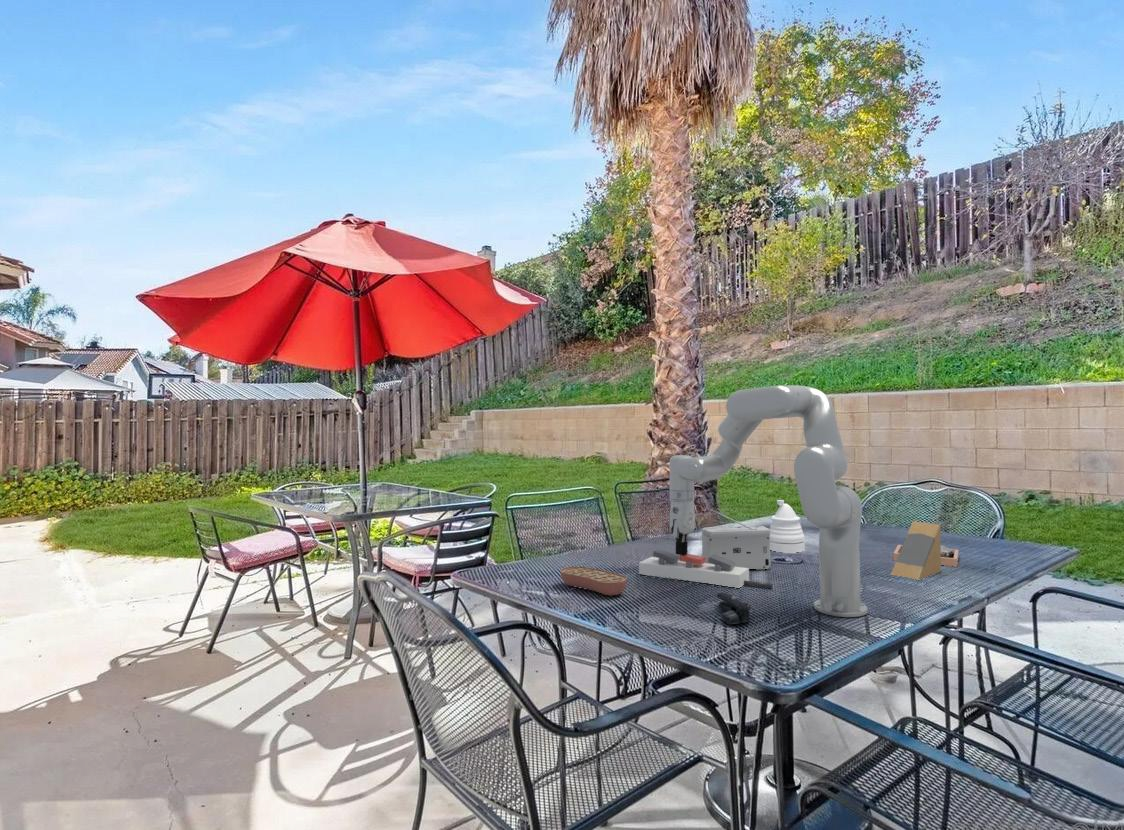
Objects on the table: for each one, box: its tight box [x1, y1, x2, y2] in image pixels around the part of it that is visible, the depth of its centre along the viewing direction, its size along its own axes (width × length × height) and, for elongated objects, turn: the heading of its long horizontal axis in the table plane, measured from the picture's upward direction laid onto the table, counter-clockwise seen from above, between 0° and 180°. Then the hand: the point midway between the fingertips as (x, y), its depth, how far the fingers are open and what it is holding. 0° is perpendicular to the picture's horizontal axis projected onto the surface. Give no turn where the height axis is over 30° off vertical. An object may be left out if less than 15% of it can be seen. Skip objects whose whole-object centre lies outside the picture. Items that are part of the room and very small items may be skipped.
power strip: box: [638, 556, 774, 589], centre depth 195 cm, size 9×40×6 cm, turn 57°
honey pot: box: [769, 499, 806, 554], centre depth 233 cm, size 13×13×18 cm
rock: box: [941, 544, 954, 558], centre depth 214 cm, size 13×10×5 cm
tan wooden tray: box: [892, 544, 959, 568], centre depth 214 cm, size 15×18×2 cm
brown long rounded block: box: [559, 566, 628, 596], centre depth 187 cm, size 23×10×5 cm, turn 45°
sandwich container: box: [890, 520, 942, 581], centre depth 196 cm, size 9×15×15 cm, turn 126°
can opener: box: [716, 592, 752, 625], centre depth 162 cm, size 18×7×6 cm, turn 2°
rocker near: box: [708, 554, 735, 571], centre depth 192 cm, size 4×7×2 cm, turn 57°
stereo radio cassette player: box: [701, 508, 771, 570], centre depth 208 cm, size 21×8×20 cm, turn 92°
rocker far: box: [652, 548, 680, 564], centre depth 202 cm, size 4×7×2 cm, turn 57°
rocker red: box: [678, 553, 706, 565], centre depth 197 cm, size 4×7×2 cm, turn 57°
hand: (681, 554), depth 199 cm, fingers closed
